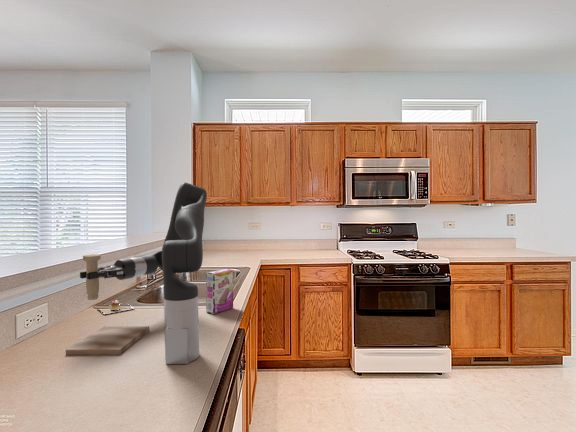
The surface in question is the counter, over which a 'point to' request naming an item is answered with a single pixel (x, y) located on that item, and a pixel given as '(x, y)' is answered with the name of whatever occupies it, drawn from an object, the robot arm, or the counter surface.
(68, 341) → the counter surface
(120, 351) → the walnut board
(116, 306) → the dessert
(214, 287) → the candy bar box
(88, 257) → the handle
